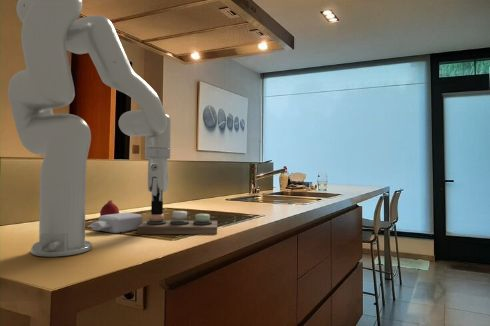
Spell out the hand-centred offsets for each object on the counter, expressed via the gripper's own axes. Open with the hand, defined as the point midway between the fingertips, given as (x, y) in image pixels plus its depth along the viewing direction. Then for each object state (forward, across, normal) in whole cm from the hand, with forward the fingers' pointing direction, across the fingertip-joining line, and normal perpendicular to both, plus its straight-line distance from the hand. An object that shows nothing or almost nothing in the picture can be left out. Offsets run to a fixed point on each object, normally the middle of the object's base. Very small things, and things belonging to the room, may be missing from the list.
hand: (157, 214), depth 112 cm
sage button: (+2, 0, -14) cm, 14 cm away
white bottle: (+5, -2, +13) cm, 14 cm away
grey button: (+1, 0, -7) cm, 7 cm away
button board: (+5, 0, -7) cm, 8 cm away
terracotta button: (+2, 0, 0) cm, 2 cm away
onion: (+5, +10, +17) cm, 20 cm away
